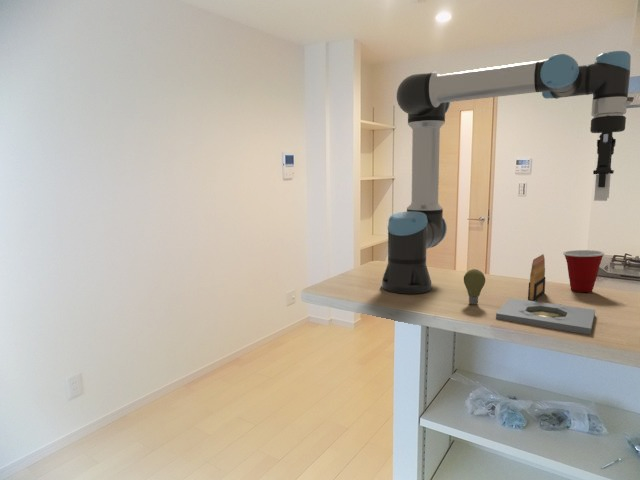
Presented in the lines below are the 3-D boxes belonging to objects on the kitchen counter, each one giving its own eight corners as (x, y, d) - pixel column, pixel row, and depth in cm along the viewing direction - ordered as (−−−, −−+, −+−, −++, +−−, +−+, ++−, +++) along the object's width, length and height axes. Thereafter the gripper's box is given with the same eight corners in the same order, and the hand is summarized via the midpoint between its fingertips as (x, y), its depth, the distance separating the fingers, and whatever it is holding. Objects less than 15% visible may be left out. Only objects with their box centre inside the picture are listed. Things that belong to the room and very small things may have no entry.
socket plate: (495, 319, 108) (496, 313, 108) (509, 303, 121) (510, 297, 121) (590, 334, 97) (590, 328, 96) (594, 315, 109) (595, 309, 109)
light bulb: (480, 302, 122) (481, 267, 121) (487, 308, 117) (488, 271, 115) (460, 302, 123) (461, 267, 121) (466, 308, 117) (467, 271, 116)
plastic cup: (565, 283, 141) (567, 247, 139) (604, 289, 134) (607, 250, 132) (556, 290, 133) (559, 252, 131) (597, 296, 126) (601, 256, 124)
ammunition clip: (534, 301, 122) (537, 259, 121) (527, 300, 124) (529, 258, 122) (544, 293, 130) (547, 254, 129) (538, 292, 132) (540, 253, 130)
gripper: (626, 109, 99) (618, 202, 103) (626, 119, 120) (619, 197, 123) (587, 112, 104) (581, 201, 107) (594, 122, 124) (588, 196, 127)
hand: (601, 199), depth 115 cm, fingers open, 13 cm apart
